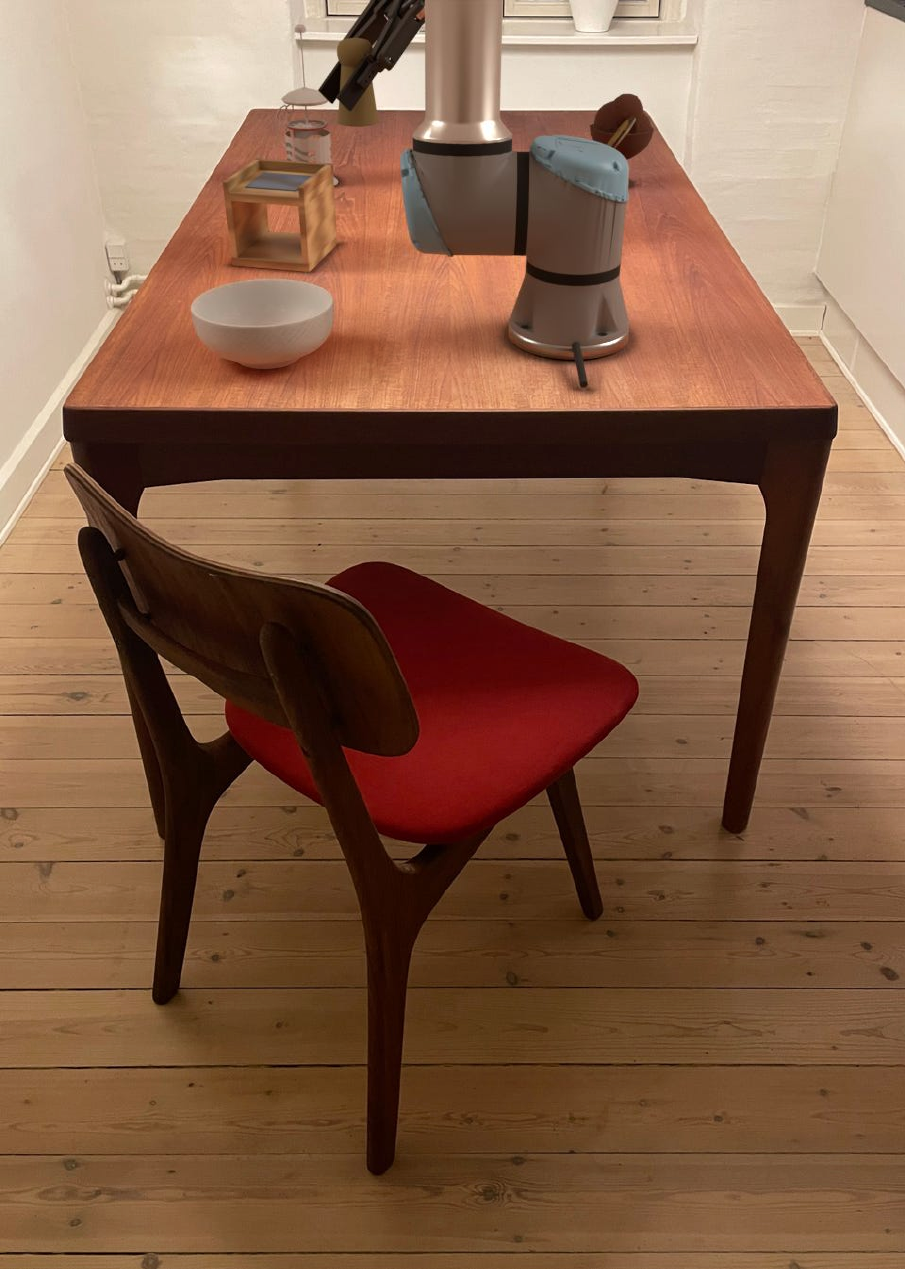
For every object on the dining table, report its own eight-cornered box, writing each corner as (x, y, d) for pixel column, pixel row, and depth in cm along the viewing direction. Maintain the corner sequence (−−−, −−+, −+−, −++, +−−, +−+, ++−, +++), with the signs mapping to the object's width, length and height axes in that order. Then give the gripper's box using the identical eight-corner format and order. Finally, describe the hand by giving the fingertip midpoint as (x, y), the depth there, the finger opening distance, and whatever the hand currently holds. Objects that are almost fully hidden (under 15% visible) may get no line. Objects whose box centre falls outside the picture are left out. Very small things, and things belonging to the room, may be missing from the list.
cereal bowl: (339, 329, 144) (336, 275, 140) (334, 383, 131) (330, 325, 127) (207, 331, 143) (200, 276, 139) (188, 386, 130) (180, 327, 126)
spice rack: (309, 272, 161) (303, 187, 154) (231, 265, 164) (222, 181, 156) (337, 244, 172) (332, 163, 164) (263, 238, 174) (256, 158, 167)
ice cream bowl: (656, 181, 200) (666, 90, 191) (630, 196, 193) (639, 102, 184) (603, 172, 205) (611, 83, 196) (575, 186, 197) (582, 94, 188)
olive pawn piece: (332, 125, 163) (327, 41, 157) (345, 116, 168) (341, 34, 161) (371, 127, 162) (368, 43, 155) (383, 118, 167) (381, 36, 160)
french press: (312, 193, 193) (301, 31, 178) (264, 181, 199) (249, 23, 184) (349, 180, 200) (342, 23, 185) (302, 170, 205) (291, 16, 190)
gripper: (480, -10, 155) (380, 131, 158) (415, -24, 167) (324, 106, 170) (448, -53, 150) (345, 94, 153) (383, -64, 162) (289, 71, 165)
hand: (334, 100), depth 161 cm, fingers closed on olive pawn piece, 5 cm apart
